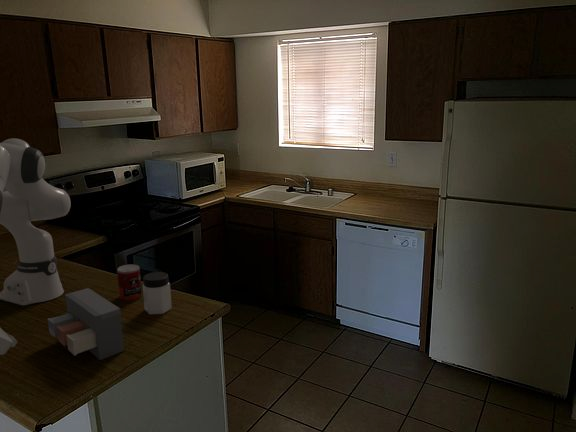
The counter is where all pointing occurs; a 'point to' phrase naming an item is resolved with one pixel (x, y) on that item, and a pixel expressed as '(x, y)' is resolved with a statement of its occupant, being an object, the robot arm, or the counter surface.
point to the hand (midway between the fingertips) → (14, 342)
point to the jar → (156, 293)
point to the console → (98, 320)
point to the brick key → (69, 330)
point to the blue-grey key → (59, 322)
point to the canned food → (129, 282)
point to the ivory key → (81, 341)
